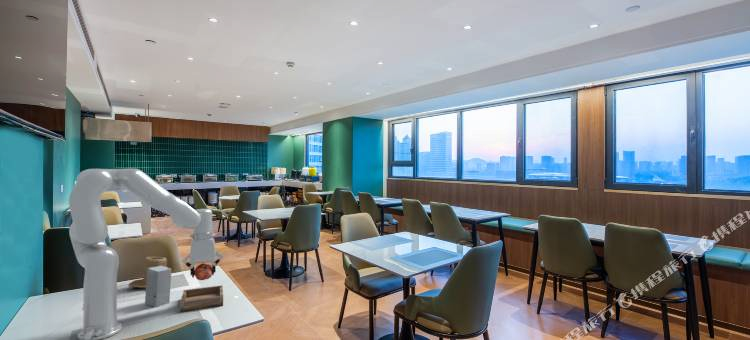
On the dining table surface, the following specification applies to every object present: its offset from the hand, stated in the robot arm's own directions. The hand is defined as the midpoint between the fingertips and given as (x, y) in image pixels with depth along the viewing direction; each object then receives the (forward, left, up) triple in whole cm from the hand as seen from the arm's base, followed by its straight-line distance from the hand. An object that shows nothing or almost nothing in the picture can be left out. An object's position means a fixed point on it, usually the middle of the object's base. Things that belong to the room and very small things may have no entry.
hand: (203, 275), depth 155 cm
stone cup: (+35, +25, -12) cm, 45 cm away
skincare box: (+7, +18, -12) cm, 23 cm away
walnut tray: (0, 0, -12) cm, 12 cm away
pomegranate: (0, 0, -2) cm, 2 cm away
